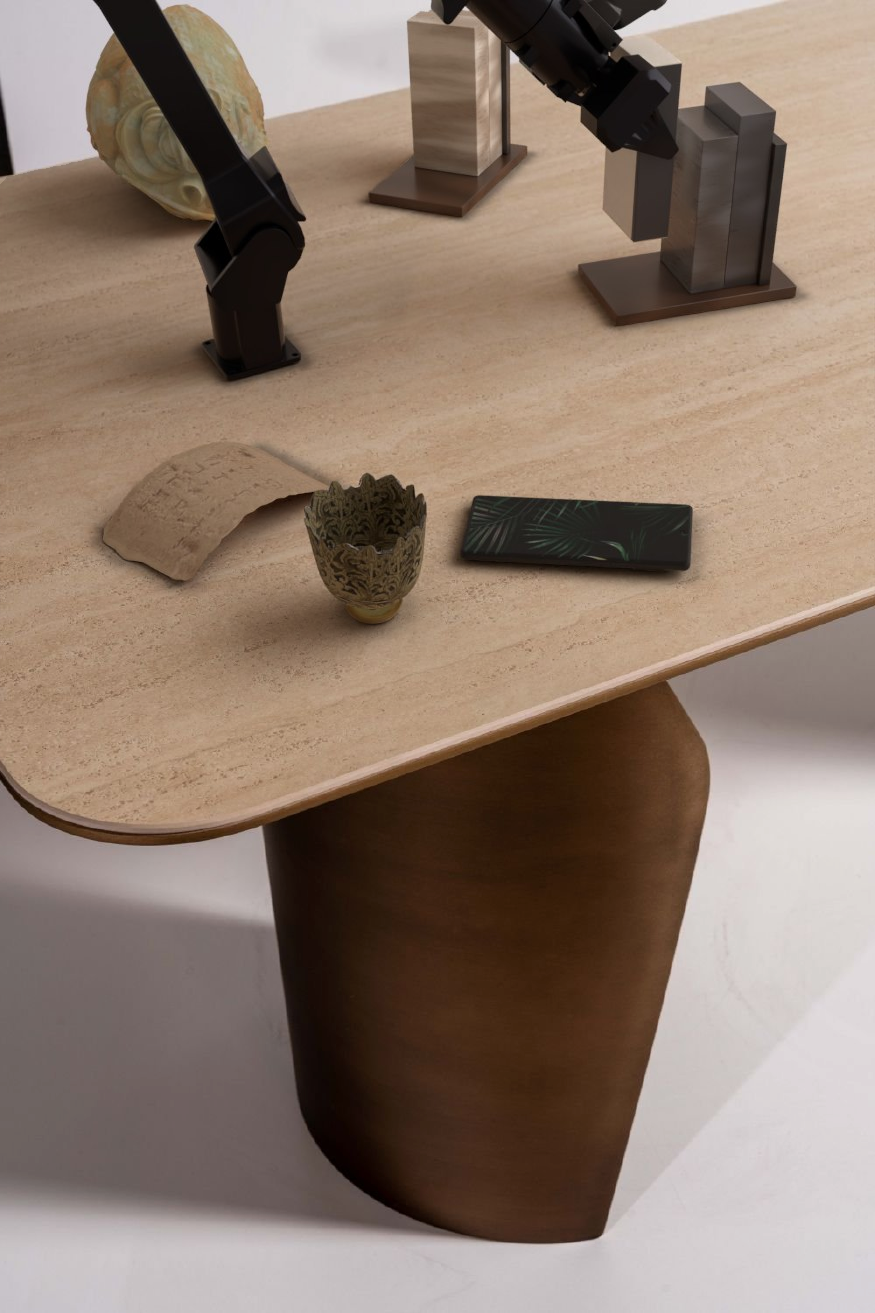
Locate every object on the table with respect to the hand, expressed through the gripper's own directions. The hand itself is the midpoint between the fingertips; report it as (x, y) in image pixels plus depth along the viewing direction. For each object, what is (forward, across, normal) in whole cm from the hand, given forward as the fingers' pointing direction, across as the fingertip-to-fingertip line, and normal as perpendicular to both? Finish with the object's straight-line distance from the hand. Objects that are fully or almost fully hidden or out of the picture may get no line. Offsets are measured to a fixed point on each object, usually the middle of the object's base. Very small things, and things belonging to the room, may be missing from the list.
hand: (655, 137), depth 114 cm
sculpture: (-15, +34, +34) cm, 50 cm away
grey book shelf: (+11, -1, +7) cm, 13 cm away
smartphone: (-4, -33, +22) cm, 40 cm away
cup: (-14, -35, +33) cm, 50 cm away
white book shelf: (+3, +28, +16) cm, 33 cm away
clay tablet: (-19, -22, +38) cm, 48 cm away
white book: (+4, 0, +6) cm, 7 cm away
